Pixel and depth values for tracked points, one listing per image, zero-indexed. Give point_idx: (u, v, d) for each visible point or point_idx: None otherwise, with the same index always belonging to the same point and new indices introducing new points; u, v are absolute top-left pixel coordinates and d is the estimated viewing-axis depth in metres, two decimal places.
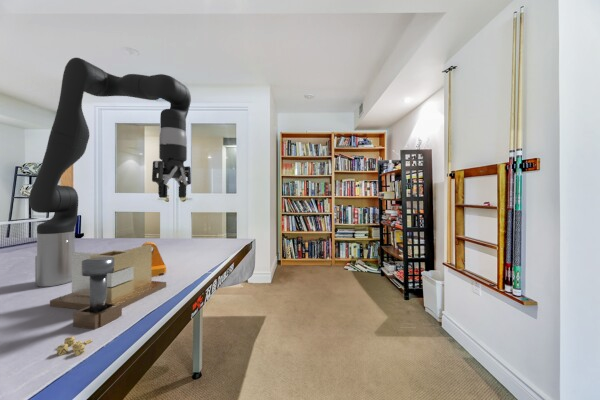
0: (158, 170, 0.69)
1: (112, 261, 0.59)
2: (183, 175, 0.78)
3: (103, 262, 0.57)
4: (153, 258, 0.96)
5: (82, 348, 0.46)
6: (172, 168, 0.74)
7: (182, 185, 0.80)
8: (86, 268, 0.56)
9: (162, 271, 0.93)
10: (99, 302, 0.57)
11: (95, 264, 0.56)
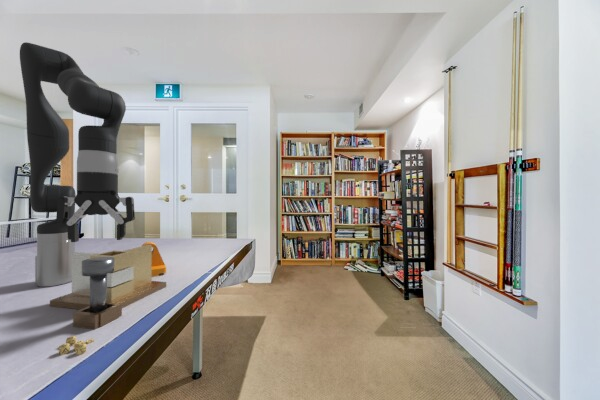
0: (133, 208, 0.62)
1: (112, 261, 0.59)
2: None
3: (103, 262, 0.57)
4: (153, 258, 0.96)
5: (84, 347, 0.46)
6: None
7: (76, 224, 0.57)
8: (86, 268, 0.56)
9: (162, 271, 0.93)
10: (99, 302, 0.57)
11: (95, 264, 0.56)
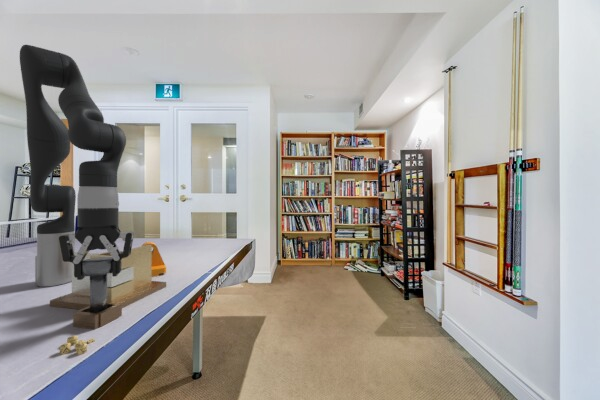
0: None
1: (112, 261, 0.59)
2: None
3: (103, 262, 0.57)
4: (153, 258, 0.96)
5: (84, 347, 0.46)
6: None
7: None
8: (86, 268, 0.56)
9: (162, 271, 0.93)
10: (99, 302, 0.57)
11: (95, 264, 0.56)
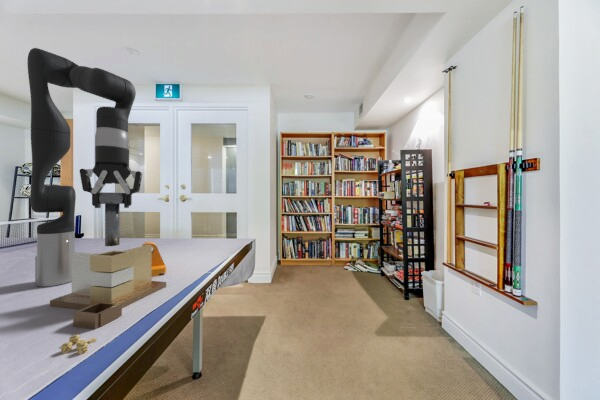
0: (140, 181, 0.72)
1: (124, 194, 0.69)
2: None
3: (116, 193, 0.67)
4: (153, 258, 0.96)
5: (85, 347, 0.47)
6: None
7: None
8: (102, 196, 0.65)
9: (162, 271, 0.93)
10: (113, 227, 0.67)
11: (110, 194, 0.66)
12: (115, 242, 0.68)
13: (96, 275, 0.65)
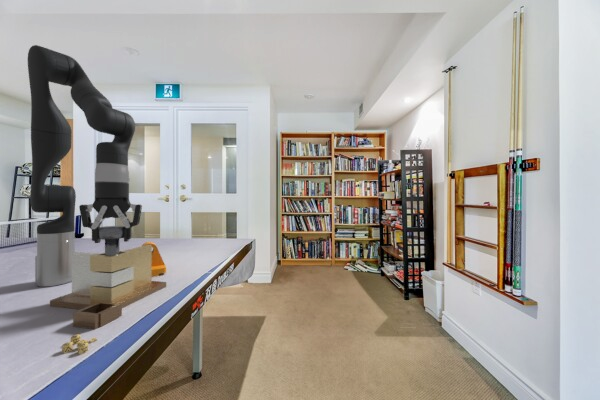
0: (140, 214, 0.72)
1: None
2: None
3: (116, 228, 0.67)
4: (153, 258, 0.96)
5: (85, 347, 0.47)
6: None
7: None
8: (102, 232, 0.65)
9: (162, 271, 0.93)
10: None
11: (109, 229, 0.66)
12: None
13: (96, 275, 0.65)
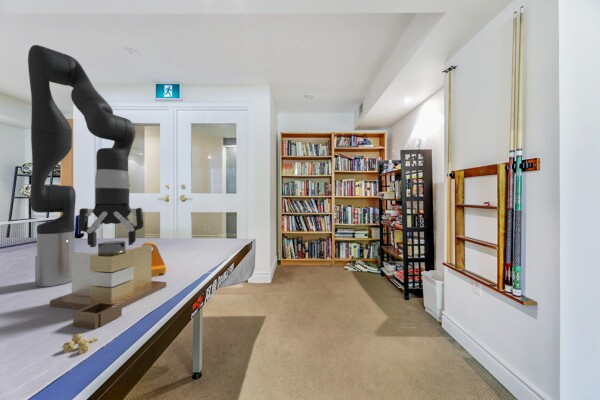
0: (142, 217, 0.72)
1: (124, 244, 0.69)
2: None
3: (116, 244, 0.67)
4: (153, 258, 0.96)
5: (86, 346, 0.47)
6: None
7: (94, 231, 0.67)
8: (102, 249, 0.65)
9: (162, 271, 0.93)
10: None
11: (109, 246, 0.66)
12: None
13: (96, 275, 0.65)
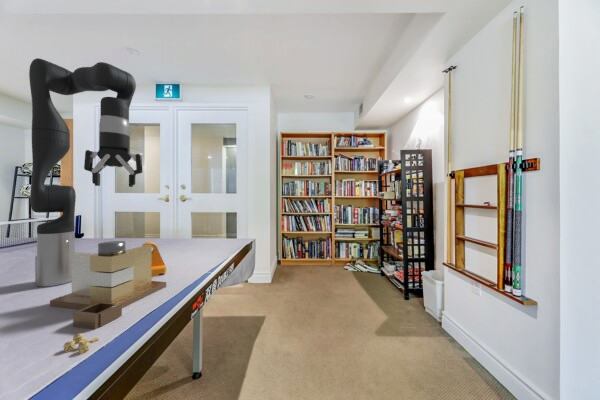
0: (141, 163, 0.80)
1: (124, 244, 0.69)
2: None
3: (116, 244, 0.67)
4: (153, 258, 0.96)
5: (86, 346, 0.47)
6: None
7: (98, 172, 0.75)
8: (102, 249, 0.65)
9: (162, 271, 0.93)
10: None
11: (109, 246, 0.66)
12: None
13: (96, 275, 0.65)
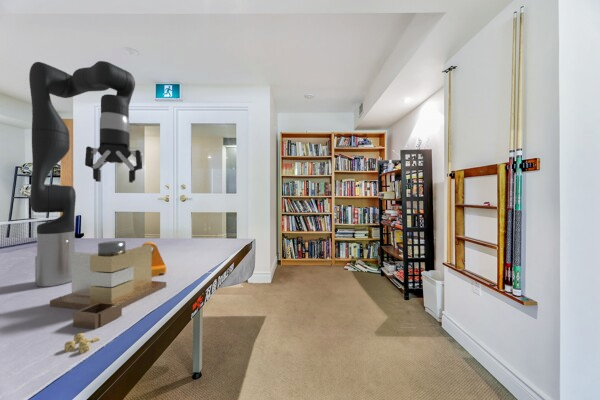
0: (141, 159, 0.81)
1: (124, 244, 0.69)
2: None
3: (116, 244, 0.67)
4: (153, 258, 0.96)
5: (86, 346, 0.47)
6: None
7: (99, 168, 0.76)
8: (102, 249, 0.65)
9: (162, 271, 0.93)
10: None
11: (109, 246, 0.66)
12: None
13: (96, 275, 0.65)
